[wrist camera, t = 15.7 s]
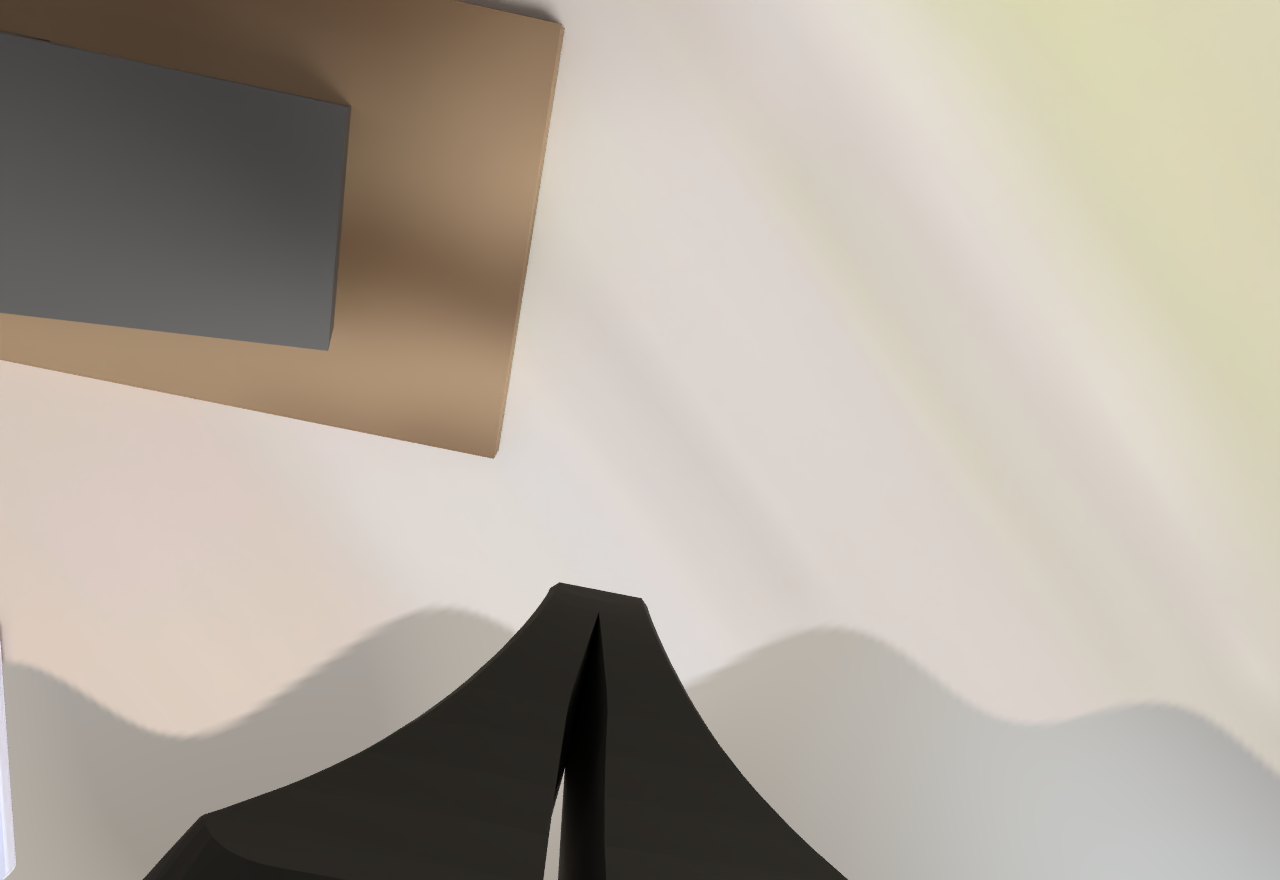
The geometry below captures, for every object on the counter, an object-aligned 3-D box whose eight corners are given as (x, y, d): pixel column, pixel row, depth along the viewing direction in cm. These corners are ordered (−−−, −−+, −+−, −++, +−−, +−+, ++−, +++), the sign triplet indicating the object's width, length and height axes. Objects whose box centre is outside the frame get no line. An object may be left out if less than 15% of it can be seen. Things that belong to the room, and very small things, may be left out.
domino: (346, 106, 16) (-171, -3, 13) (328, 351, 18) (-136, 297, 15) (351, 105, 18) (-105, 9, 15) (333, 327, 19) (-80, 275, 17)
